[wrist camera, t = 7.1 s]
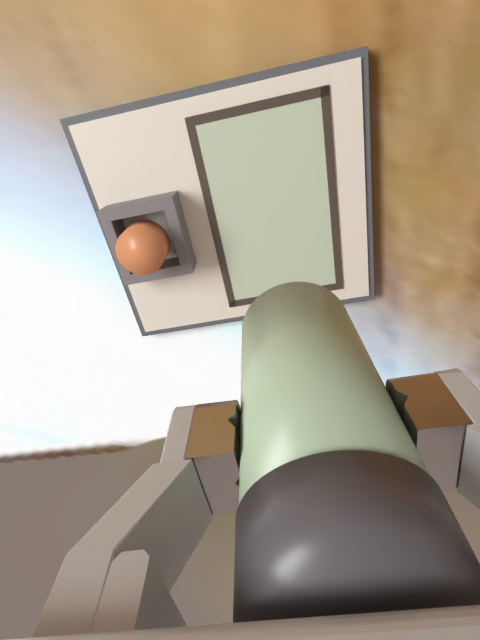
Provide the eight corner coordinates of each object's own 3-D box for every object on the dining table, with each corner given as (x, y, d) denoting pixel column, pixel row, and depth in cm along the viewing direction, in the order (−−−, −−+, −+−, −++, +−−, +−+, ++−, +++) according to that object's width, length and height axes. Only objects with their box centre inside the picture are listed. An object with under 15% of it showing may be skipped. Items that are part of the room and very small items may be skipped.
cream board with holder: (363, 48, 24) (379, 39, 21) (371, 293, 33) (383, 312, 30) (65, 119, 27) (42, 120, 24) (145, 330, 35) (135, 351, 32)
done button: (162, 215, 27) (155, 223, 25) (175, 259, 28) (170, 270, 26) (118, 224, 27) (107, 233, 25) (133, 267, 29) (125, 278, 27)
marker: (347, 270, 11) (528, 551, 4) (352, 366, 13) (486, 683, 6) (230, 290, 11) (205, 580, 4) (250, 380, 13) (256, 696, 6)
